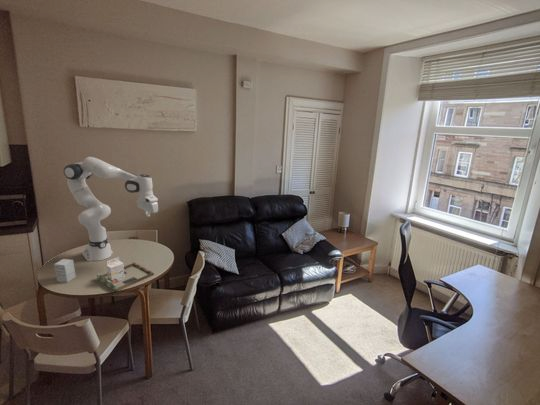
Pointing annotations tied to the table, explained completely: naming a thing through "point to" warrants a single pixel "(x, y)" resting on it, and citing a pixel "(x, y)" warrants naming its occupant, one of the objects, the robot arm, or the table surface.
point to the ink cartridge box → (115, 270)
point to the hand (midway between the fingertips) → (147, 216)
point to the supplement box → (64, 270)
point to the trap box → (126, 282)
